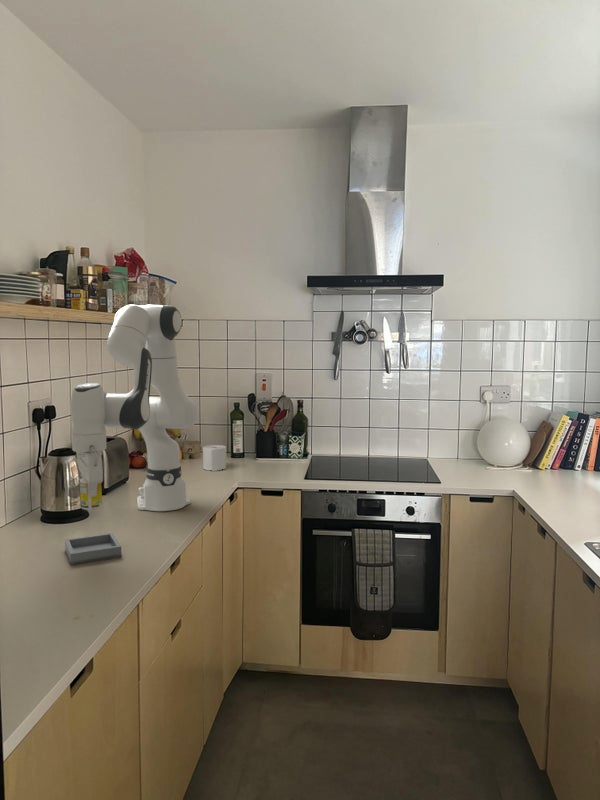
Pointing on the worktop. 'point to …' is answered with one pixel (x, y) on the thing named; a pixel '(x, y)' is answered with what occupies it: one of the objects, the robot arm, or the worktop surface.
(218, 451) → the toilet tissue
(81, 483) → the supplement bottle
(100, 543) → the tray
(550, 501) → the worktop surface
